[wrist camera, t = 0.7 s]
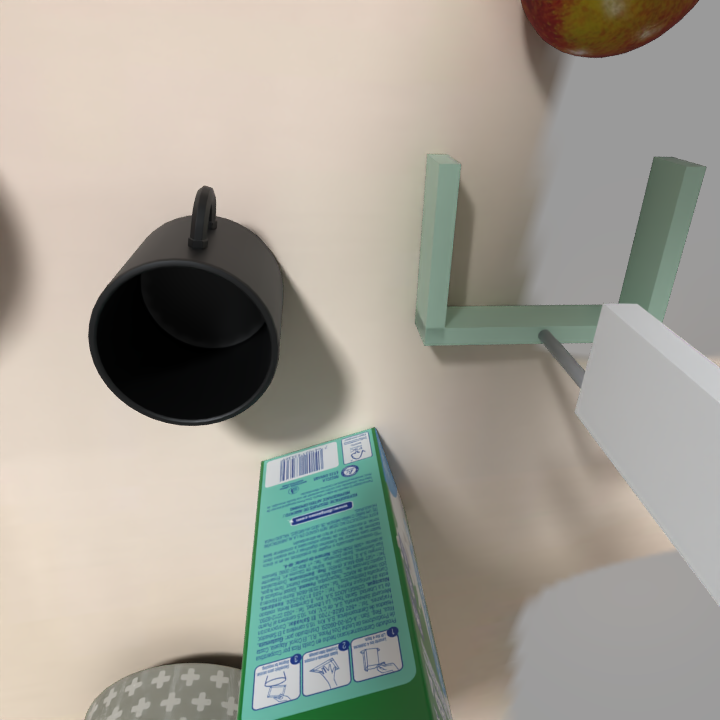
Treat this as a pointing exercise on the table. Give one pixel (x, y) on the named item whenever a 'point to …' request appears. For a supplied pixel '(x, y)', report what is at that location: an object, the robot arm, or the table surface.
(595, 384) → the robot arm
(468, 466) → the table surface
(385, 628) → the milk carton
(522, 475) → the table surface
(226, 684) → the planter
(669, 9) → the fruit
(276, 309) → the mug
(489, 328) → the long-handled green u-channel
